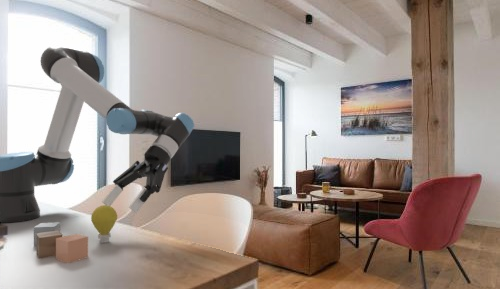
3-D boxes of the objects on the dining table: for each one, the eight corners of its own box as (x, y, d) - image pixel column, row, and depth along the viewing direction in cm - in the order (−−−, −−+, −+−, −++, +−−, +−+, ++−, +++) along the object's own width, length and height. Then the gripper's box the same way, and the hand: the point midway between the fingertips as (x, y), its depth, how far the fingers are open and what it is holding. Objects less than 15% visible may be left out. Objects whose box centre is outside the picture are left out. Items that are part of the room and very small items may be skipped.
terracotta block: (55, 259, 83) (55, 238, 83) (76, 253, 87) (76, 233, 87) (67, 263, 80) (67, 241, 80) (88, 257, 84) (88, 236, 84)
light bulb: (85, 243, 95) (85, 206, 95) (103, 237, 101) (103, 202, 101) (105, 246, 93) (105, 208, 92) (122, 239, 99) (122, 204, 99)
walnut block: (36, 253, 87) (36, 233, 87) (59, 249, 90) (58, 230, 90) (38, 258, 83) (38, 237, 83) (62, 254, 86) (62, 234, 86)
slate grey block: (40, 240, 98) (40, 223, 98) (60, 239, 99) (60, 222, 99) (33, 246, 93) (33, 227, 93) (54, 245, 94) (54, 226, 94)
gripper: (194, 161, 105) (153, 221, 94) (144, 159, 120) (103, 209, 109) (181, 144, 101) (136, 204, 89) (130, 144, 116) (86, 195, 104)
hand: (118, 207), depth 99 cm, fingers open, 13 cm apart
